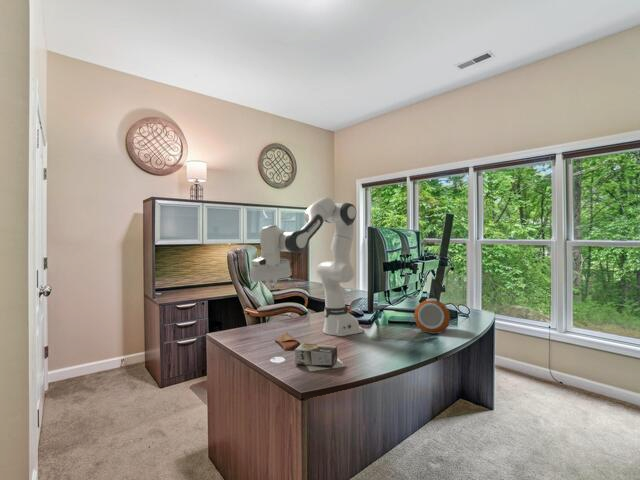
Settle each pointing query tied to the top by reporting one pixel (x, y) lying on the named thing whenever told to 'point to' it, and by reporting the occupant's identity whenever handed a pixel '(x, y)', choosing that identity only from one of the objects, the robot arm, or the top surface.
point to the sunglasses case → (287, 342)
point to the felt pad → (314, 368)
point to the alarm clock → (432, 316)
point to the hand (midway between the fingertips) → (271, 289)
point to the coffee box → (316, 355)
